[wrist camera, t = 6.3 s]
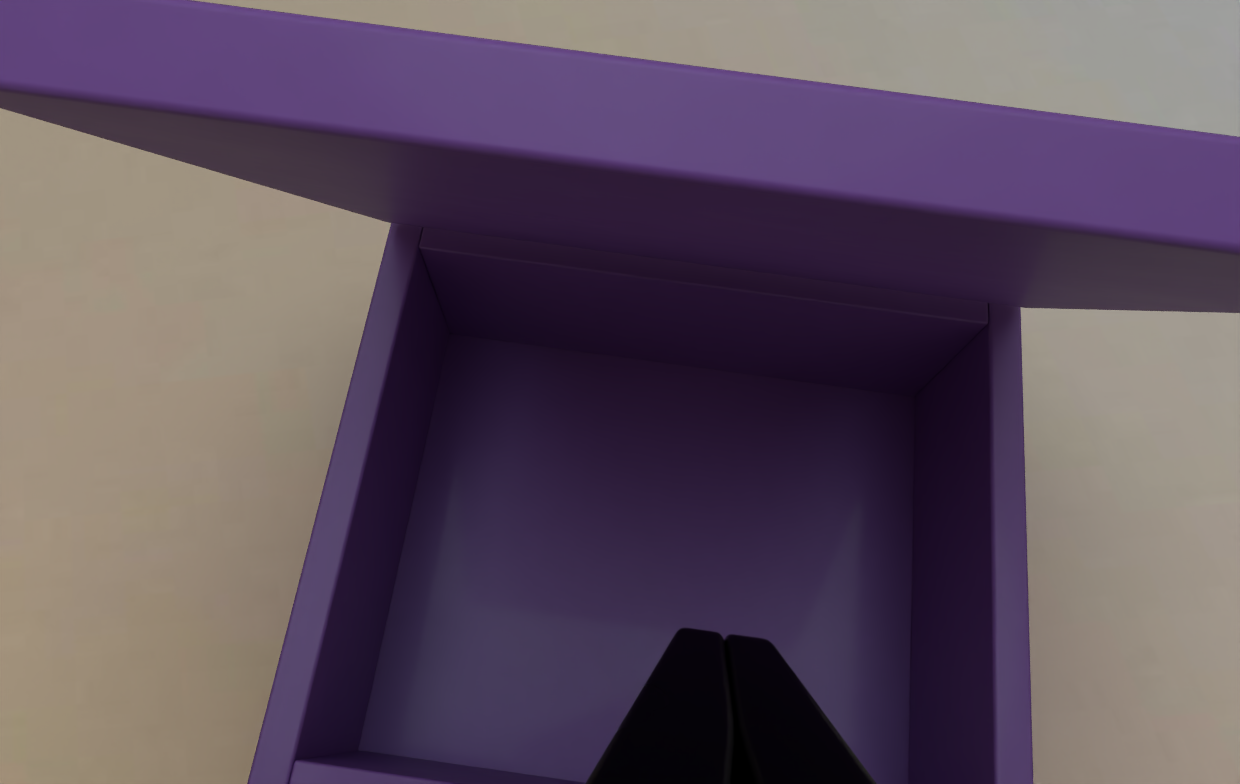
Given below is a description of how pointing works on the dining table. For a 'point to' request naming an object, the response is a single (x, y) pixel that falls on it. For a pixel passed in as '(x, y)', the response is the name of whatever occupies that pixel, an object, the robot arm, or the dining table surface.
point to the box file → (655, 516)
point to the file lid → (648, 154)
